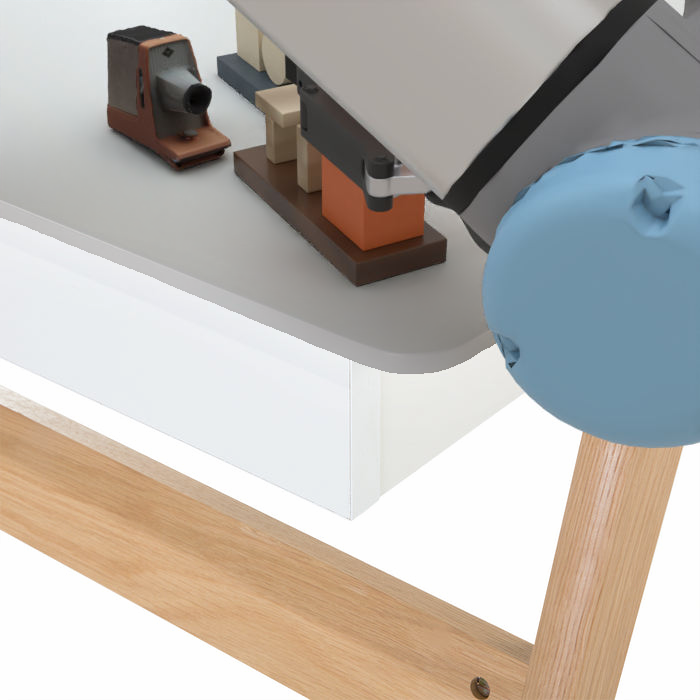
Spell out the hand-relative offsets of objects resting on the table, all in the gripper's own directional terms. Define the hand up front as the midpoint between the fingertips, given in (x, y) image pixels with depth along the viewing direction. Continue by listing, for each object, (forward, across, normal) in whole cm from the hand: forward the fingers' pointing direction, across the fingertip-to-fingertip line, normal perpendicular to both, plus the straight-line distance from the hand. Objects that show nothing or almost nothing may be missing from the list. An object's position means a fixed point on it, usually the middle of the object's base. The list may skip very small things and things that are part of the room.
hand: (327, 46), depth 71 cm
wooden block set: (+16, +6, -10) cm, 20 cm away
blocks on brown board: (0, 0, -10) cm, 11 cm away
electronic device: (+14, -5, -11) cm, 18 cm away
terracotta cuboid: (-5, 0, -9) cm, 10 cm away
